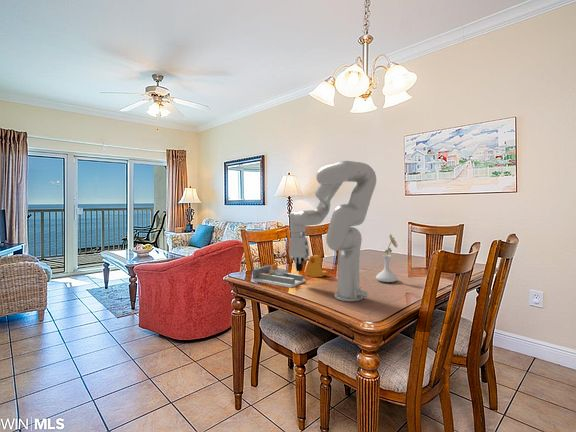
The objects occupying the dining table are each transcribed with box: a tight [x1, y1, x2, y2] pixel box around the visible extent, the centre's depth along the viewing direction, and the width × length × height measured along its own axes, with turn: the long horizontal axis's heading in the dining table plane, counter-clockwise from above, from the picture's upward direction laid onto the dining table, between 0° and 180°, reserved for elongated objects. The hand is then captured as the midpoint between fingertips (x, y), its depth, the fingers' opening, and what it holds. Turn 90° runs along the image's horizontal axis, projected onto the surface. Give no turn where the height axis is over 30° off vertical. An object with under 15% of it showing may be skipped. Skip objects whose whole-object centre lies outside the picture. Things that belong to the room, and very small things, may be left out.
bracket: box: [305, 254, 328, 278], centre depth 181 cm, size 11×7×12 cm, turn 49°
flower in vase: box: [375, 234, 399, 283], centre depth 167 cm, size 13×11×25 cm
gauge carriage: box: [267, 263, 289, 277], centre depth 169 cm, size 8×11×7 cm
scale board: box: [252, 264, 306, 288], centre depth 169 cm, size 25×14×6 cm, turn 56°
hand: (299, 270), depth 161 cm, fingers closed
